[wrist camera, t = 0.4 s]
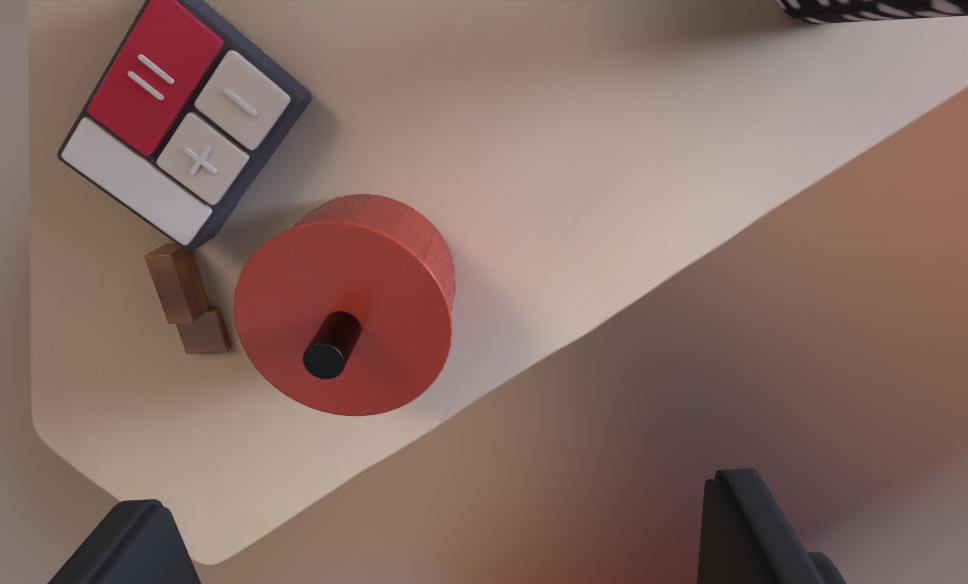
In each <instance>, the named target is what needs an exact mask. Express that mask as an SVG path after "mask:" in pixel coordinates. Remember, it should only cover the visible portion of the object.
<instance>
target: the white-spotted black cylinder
mask: <svg viewBox="0 0 968 584" xmlns="http://www.w3.org/2000/svg"><path fill="white" fill-rule="evenodd" d="M776 2H777V3H778V4H779V6H780V7H781V8H782V9H783V11H785V12H786V13H787V14H789V15H790V16H791V17H793V18H795V19H797V20H800V21H802V22H806V23H812V24H823V23H841V22H859V21H878V20H896V19H914V18H932V17H951V16H968V0H776Z"/></svg>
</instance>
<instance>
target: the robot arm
mask: <svg viewBox="0 0 968 584" xmlns="http://www.w3.org/2000/svg"><path fill="white" fill-rule="evenodd" d="M48 584H201V583H200V580H199V578H198V575H197V573H196V570H195V568H194V566H193V563H192V561H191V559H190V556H189V554H188V551H187V549H186V547H185V544H184V542H183V540H182V537H181V535H180V532H179V530H178V528H177V525H176V523H175V521H174V518H173V516H172V513H171V512H170V510H169V509H168V508H166V507H164V506H163V505H162V503H161V502H160V501H158V500H156V499H150V500H130V501H122V502H120V503H118V504H117V505H116V506H114V507H113V508H112V509H111V511H110V512H109V513H108V514H107V515H106V517H105V518H104V519H103V520H102V521H101V522H100V524H99V525H98V526H97V527H96V528H95V529H94V531H93V532H92V533H91V534H90V535H89V536H88V537H87V538H86V540H85V541H84V542H83V543H82V544H81V546H80V547H79V548H78V549H77V550H76V551H75V552H74V554H73V555H72V556H71V557H70V558H69V559H68V561H67V562H66V563H65V564H64V565H63V566H62V568H61V569H60V570H59V571H58V572H57V573H56V575H55V576H54V577H53V578H52V579H51V580H50V582H49V583H48ZM697 584H847V583H846V582H845V580H844V579H843V577H842V576H841V574H840V573H839V571H838V569H837V568H836V567H835V566H834V564H833V563H832V561H831V560H830V559H829V558H828V557H827V556H825V555H824V554H823V553H821V552H806V550H805V549H804V547H803V545H802V544H801V542H800V540H799V539H798V537H797V536H796V534H795V533H794V530H793V529H792V527H791V526H790V524H789V522H788V521H787V519H786V517H785V516H784V514H783V512H782V511H781V509H780V508H779V506H778V504H777V503H776V501H775V499H774V498H773V496H772V494H771V493H770V491H769V489H768V488H767V486H766V485H765V483H764V481H763V479H762V478H761V476H760V475H759V473H758V472H757V471H756V470H755V469H753V468H745V469H726V470H717V472H716V475H715V479H710V480H706V482H705V488H704V500H703V513H702V526H701V539H700V551H699V565H698V577H697Z"/></svg>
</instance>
